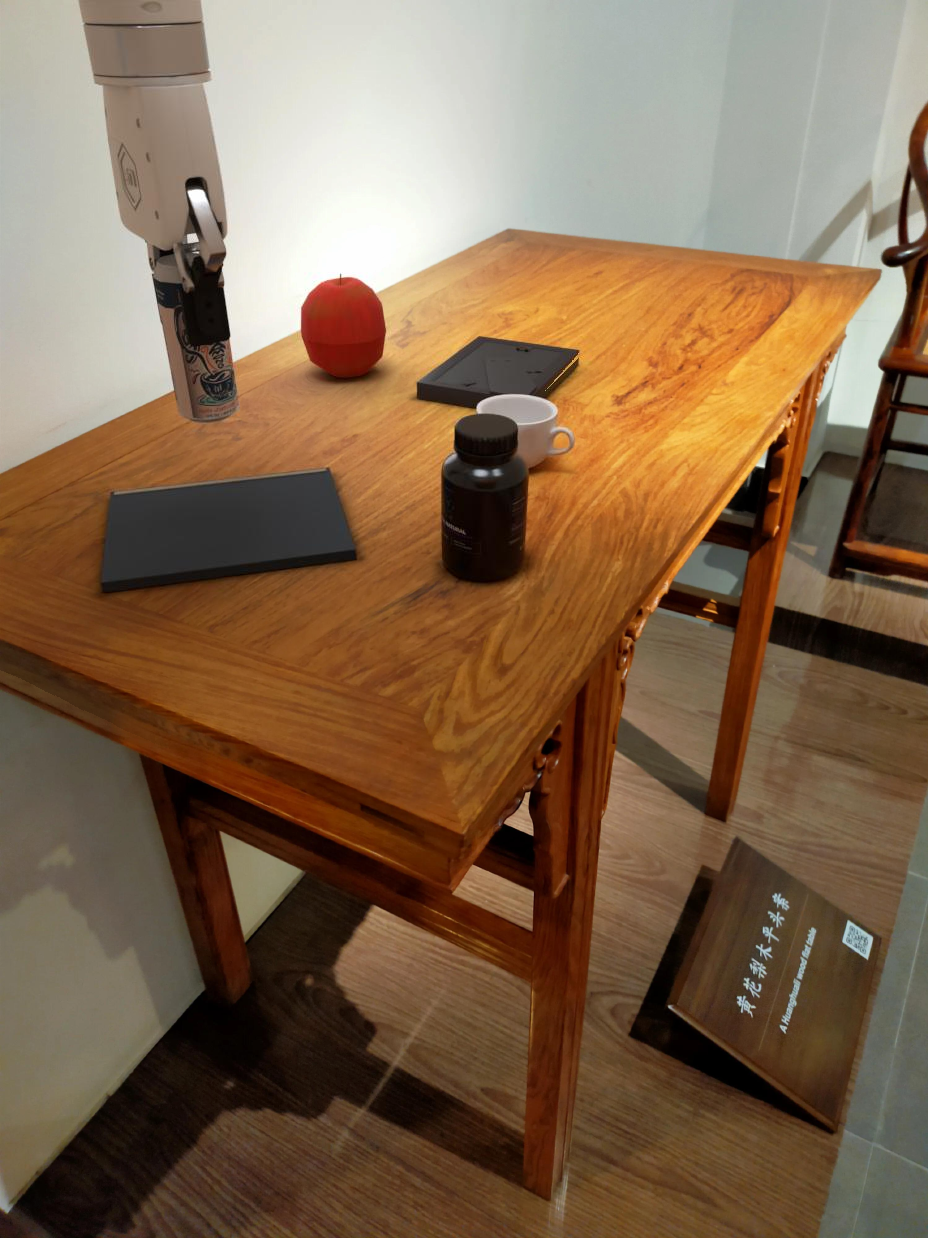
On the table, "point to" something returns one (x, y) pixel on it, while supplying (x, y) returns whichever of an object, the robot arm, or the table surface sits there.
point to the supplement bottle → (484, 499)
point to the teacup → (530, 424)
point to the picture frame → (496, 372)
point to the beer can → (193, 355)
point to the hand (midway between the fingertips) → (195, 330)
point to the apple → (343, 327)
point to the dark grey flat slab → (223, 529)
